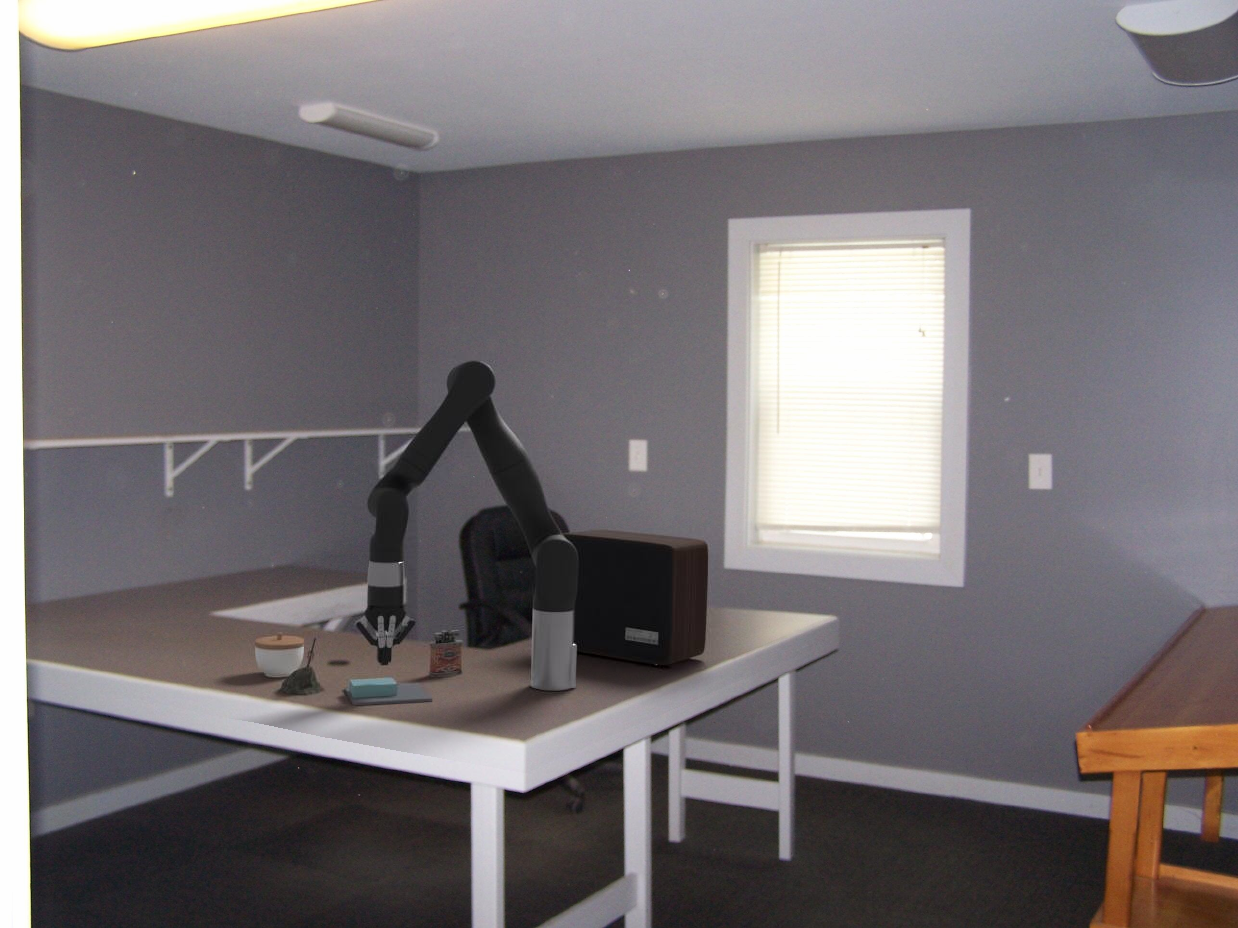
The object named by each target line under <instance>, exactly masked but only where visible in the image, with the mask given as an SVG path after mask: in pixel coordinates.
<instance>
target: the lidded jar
mask: <svg viewBox="0 0 1238 928" xmlns="http://www.w3.org/2000/svg"><path fill="white" fill-rule="evenodd" d="M304 647H305V639H304V638H303V637H300V636H294V635H283V632H277V635H272V636H270V635H269V636H264V637H260V638H257V639H255V640H254V648H255V649H254V654H255V655H254V656H255V661H256V664H257V666H258V668H259V669H260V671H261V672H262V673H264V675H265V677H268V678H288V677H289V676H290V675H291V674H292V673H293V672H294V671H296V670H298V669H300V666H301V664H302V662H303V658H304V654H305V653H304V651H305V648H304Z"/></svg>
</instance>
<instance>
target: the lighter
mask: <svg viewBox="0 0 1238 928" xmlns="http://www.w3.org/2000/svg"><path fill="white" fill-rule="evenodd" d="M456 637H461V631H460V630H459V629H457V630H449V631H448V630H444V629H443V630H441V632H435V633H434V640H435V641H431V642H429V647H430V654H429V657H430V659H429V663H430V664H429V673H428V676H429V677H432V678H439V677H442V678H443V677H451V676H457V675H462V674H463V669H462V660H463V644H464V640H462V639H456Z"/></svg>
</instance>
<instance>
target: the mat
mask: <svg viewBox="0 0 1238 928" xmlns="http://www.w3.org/2000/svg"><path fill="white" fill-rule="evenodd" d="M349 690H350V686H346V687H344V691H345V693H346V695H347V696H348V698H349V700H350V702H351V704H352V705H353V706H354V707H356V706H371V705H373V706H374V704H375V705H390V704H405V703H406V704H407V703H408V704H409V703H425V702H426V703H427V702H433V698H432V697H431V695H430V694H429V693H428V692H427V691H426V689H425V688H424V687H423V686H422V684H421V683H420V682H419V683H417V682H416V683H401V684H398V683H397V695H395V696H376V697H358V698H353V696H352V694H351V693H350V691H349Z"/></svg>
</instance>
